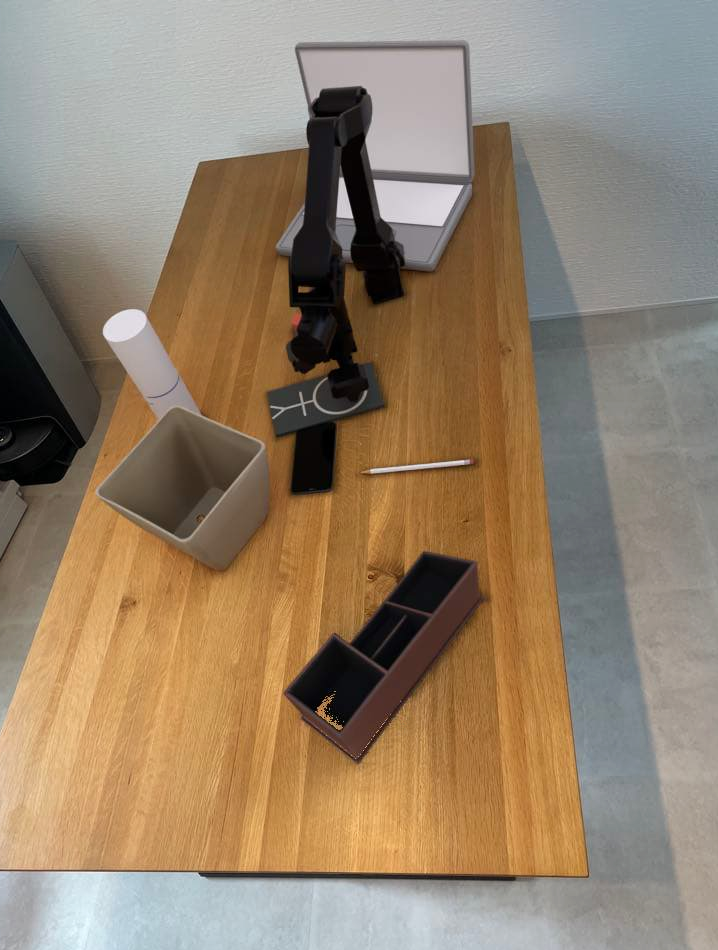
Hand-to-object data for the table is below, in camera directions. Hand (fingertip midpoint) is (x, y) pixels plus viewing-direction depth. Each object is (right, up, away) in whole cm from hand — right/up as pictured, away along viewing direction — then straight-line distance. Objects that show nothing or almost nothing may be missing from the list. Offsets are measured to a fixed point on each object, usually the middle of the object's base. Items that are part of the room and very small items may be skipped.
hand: (349, 386), depth 122 cm
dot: (-9, +14, +13) cm, 21 cm away
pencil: (+11, -16, -10) cm, 22 cm away
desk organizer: (+7, -44, -26) cm, 52 cm away
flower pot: (-21, -26, -9) cm, 35 cm away
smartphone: (-6, -14, -4) cm, 15 cm away
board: (-4, -2, +2) cm, 5 cm away
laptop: (+6, +41, +26) cm, 49 cm away
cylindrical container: (-30, -7, +5) cm, 31 cm away
